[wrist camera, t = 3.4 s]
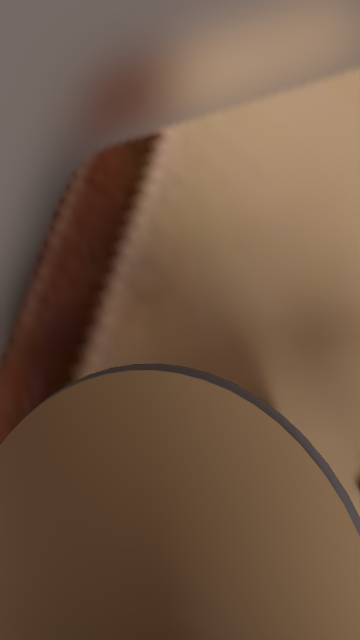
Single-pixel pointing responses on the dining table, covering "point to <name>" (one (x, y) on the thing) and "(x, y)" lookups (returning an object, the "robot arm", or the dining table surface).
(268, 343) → the dining table surface
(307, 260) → the dining table surface
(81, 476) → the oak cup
